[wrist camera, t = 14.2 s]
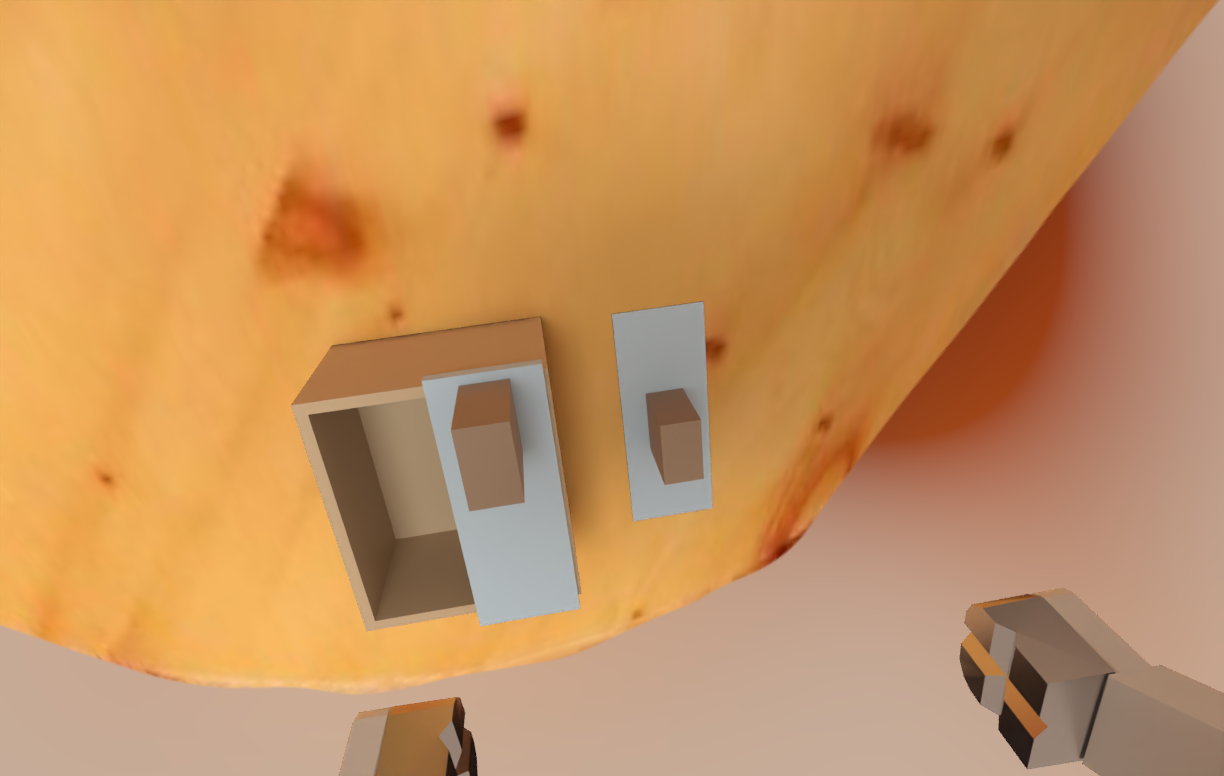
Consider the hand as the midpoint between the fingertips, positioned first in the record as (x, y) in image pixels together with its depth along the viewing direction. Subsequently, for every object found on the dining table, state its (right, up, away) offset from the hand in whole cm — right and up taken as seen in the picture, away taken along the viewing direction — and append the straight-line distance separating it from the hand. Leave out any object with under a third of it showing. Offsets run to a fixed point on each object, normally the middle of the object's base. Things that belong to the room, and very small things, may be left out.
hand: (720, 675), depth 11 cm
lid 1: (-7, -1, +24) cm, 25 cm away
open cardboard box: (-11, +2, +31) cm, 33 cm away
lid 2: (+2, +3, +33) cm, 33 cm away
